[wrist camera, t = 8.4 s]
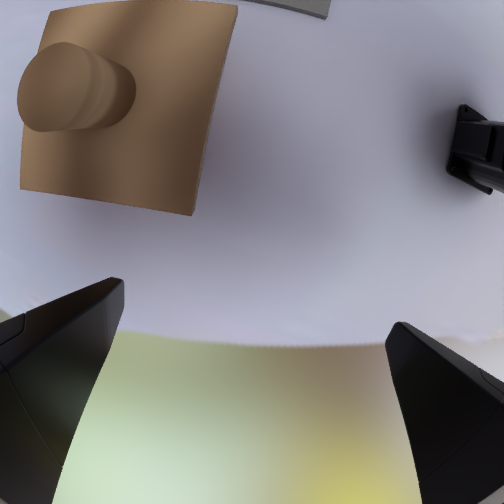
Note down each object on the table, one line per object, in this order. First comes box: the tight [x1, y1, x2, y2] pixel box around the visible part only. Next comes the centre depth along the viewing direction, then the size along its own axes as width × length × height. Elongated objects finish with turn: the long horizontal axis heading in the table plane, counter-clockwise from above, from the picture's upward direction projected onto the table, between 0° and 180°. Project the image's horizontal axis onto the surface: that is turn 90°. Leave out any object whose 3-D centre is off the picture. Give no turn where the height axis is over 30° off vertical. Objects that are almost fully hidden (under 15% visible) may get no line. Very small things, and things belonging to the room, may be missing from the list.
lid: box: [17, 0, 238, 216], centre depth 10 cm, size 11×11×6 cm
